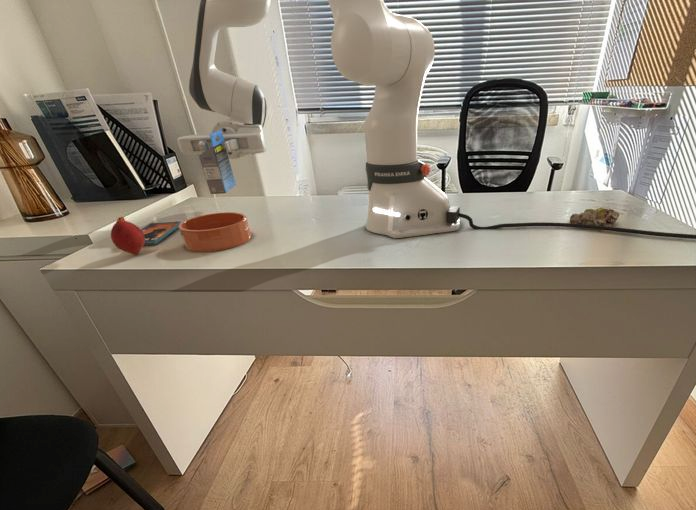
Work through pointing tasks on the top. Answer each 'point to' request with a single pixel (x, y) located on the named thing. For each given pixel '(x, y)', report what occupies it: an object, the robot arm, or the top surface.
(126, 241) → the onion
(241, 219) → the terracotta bowl
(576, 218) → the mineral rock
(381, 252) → the top surface
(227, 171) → the grey product box
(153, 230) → the smartphone
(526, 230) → the top surface
